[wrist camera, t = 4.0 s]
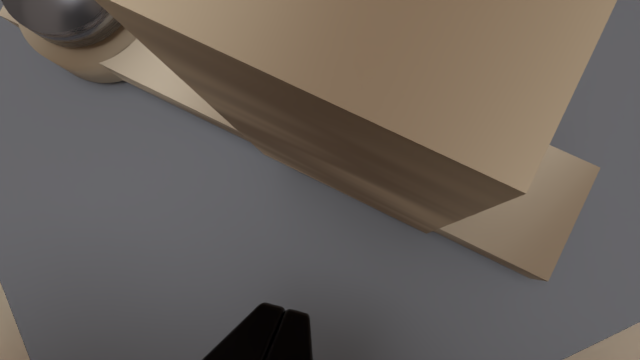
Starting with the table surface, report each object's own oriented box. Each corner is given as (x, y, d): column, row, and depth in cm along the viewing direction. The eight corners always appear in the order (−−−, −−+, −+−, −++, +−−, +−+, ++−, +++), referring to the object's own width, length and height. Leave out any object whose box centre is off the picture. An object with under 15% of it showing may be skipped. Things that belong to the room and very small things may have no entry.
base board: (133, 555, 16) (114, 579, 15) (-85, -1, 19) (-114, -17, 18) (818, 219, 16) (855, 216, 14) (480, -297, 19) (488, -335, 17)
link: (23, 49, 17) (-537, -277, 6) (86, -65, 17) (-351, -549, 7) (522, 296, 15) (888, 398, 4) (585, 159, 15) (1072, -59, 4)
